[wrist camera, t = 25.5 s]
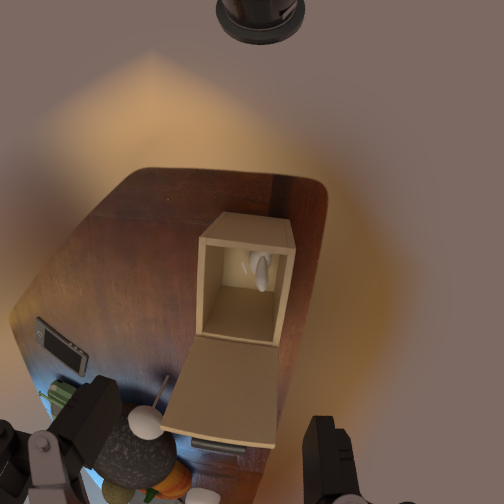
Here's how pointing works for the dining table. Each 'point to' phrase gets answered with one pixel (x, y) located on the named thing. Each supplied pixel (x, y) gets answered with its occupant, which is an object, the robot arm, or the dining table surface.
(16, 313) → the dining table surface
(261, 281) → the rabbit figurine
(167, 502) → the toy vehicle
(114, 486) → the fruit
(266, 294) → the chest
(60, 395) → the toy car
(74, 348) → the smartphone
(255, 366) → the lid
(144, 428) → the lollipop
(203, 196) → the dining table surface
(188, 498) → the teardrop
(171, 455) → the decorative sphere
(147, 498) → the pumpkin
